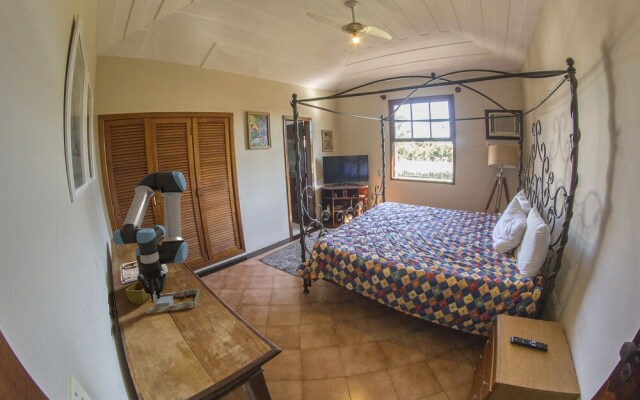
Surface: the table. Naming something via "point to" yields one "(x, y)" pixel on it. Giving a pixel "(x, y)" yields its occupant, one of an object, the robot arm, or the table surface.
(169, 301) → the slate block
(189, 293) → the wooden wall shelf
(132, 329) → the table surface
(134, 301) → the flower pot
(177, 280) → the table surface
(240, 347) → the table surface
